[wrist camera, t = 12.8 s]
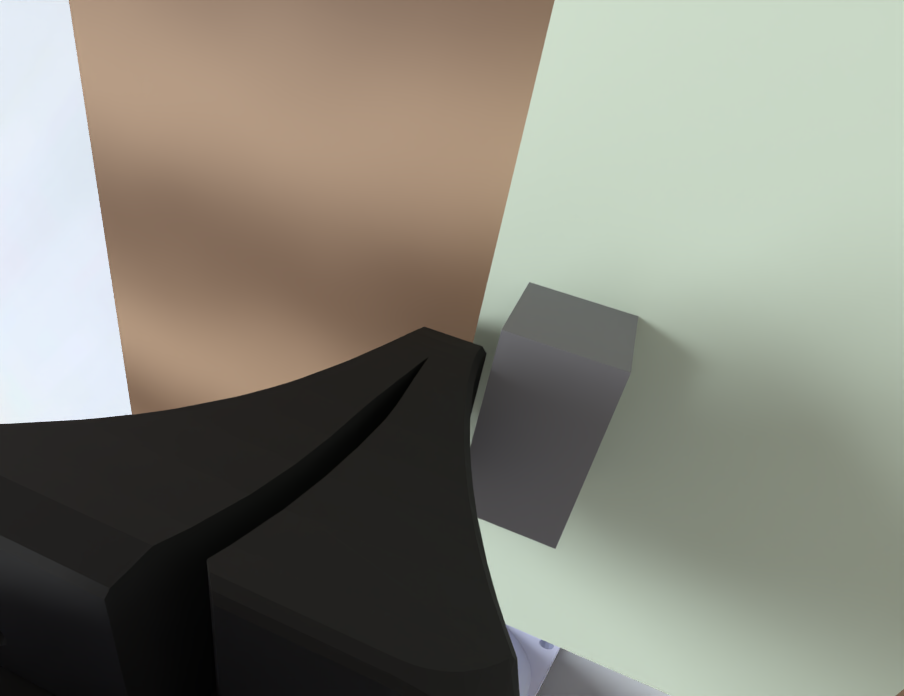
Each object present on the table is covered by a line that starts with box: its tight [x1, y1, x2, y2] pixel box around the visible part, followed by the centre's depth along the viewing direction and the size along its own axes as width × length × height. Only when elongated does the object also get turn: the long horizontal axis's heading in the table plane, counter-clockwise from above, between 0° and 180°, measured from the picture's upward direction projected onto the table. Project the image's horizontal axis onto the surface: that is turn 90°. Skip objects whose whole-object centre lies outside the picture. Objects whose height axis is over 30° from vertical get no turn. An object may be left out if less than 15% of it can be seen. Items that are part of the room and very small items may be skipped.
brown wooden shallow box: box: [69, 0, 904, 696], centre depth 14 cm, size 15×22×4 cm
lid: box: [470, 0, 904, 696], centre depth 10 cm, size 15×10×3 cm
